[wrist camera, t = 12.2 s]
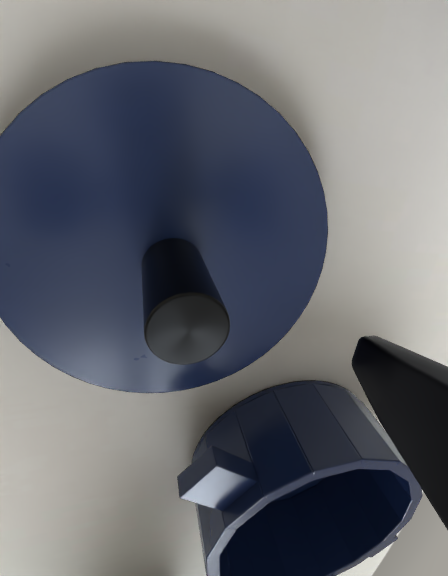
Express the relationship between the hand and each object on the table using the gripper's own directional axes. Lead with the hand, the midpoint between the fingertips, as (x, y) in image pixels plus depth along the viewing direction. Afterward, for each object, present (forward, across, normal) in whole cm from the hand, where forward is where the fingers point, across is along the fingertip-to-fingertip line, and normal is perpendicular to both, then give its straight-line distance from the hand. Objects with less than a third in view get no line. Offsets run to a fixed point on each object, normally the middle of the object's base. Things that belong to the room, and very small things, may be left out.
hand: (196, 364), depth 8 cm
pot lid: (+6, 0, 0) cm, 6 cm away
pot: (+7, -8, +14) cm, 18 cm away
